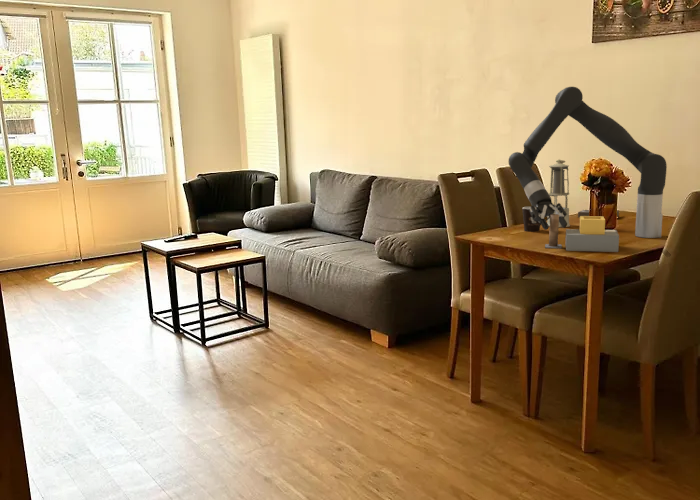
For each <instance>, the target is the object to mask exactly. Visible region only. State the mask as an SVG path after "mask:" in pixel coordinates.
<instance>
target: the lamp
mask: <svg viewBox="0 0 700 500" xmlns="http://www.w3.org/2000/svg"><path fill="white" fill-rule="evenodd" d="M555 162H556V163H555V164H551V165H549V168H550V188H549V189H550V190H549V192H548V194H549V195H550V197H554V200H553V201H554V202H553V204H554V205H557V204H558V196H559V197H561V196H564V197H565V199H564V200H565V203H564V204H565V206H562V207H563V209H564V210H565V212H566V213H567V215H566V216H565V217H564V219H565V220H566V222H567V226H566V227H567V228H568V227H570V226H571V224H570V208H569V207H568V202H569V201H568V199H569V198H568V196H569V195H570V192H569V191H570V189H569V188H570V187H569V185H570V182H569V166H570V165H568V164H564V163H566V161H565V160H561V159H558V160H556V161H555ZM565 170H566V176H567V178H566V179H565ZM565 181H567V192H566V190H565ZM555 213H556V212H555V211H554V213H553V214H555ZM562 214H563V213H562ZM548 217H549V216H547V218H548ZM559 217H560V216H559ZM547 218H546V219H547ZM546 222H547V224H548V225H549V227H550V218H549V219H548V220H547V221H546ZM566 227H565V228H566ZM558 228H563V227H562V226H561V224H560V222H559V226H558Z"/></svg>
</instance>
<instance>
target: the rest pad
mask: <svg viewBox="0 0 700 500" xmlns="http://www.w3.org/2000/svg"><path fill="white" fill-rule="evenodd" d="M544 248H545V249H559V250H560V249H562V244H558V246H555V247H553V246H549V243H545V244H544Z"/></svg>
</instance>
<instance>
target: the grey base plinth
mask: <svg viewBox="0 0 700 500" xmlns="http://www.w3.org/2000/svg"><path fill="white" fill-rule="evenodd" d="M578 228H579V229H578ZM578 228H577V229H576V228H575V229H573V228H571V229H569V228H566V229H565V244H564V245H565V251H569V252H570V251H571V252H572V251H573V252H574V251H576V252H602V253H603V252H604V253H605V252H606V253H608V252H609V253H618V252H619V246H620V245H619V244H620V234H619V232H618V230H617V229H605V228H606V219H605V218H604V216H580V218H579V227H578Z"/></svg>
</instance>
